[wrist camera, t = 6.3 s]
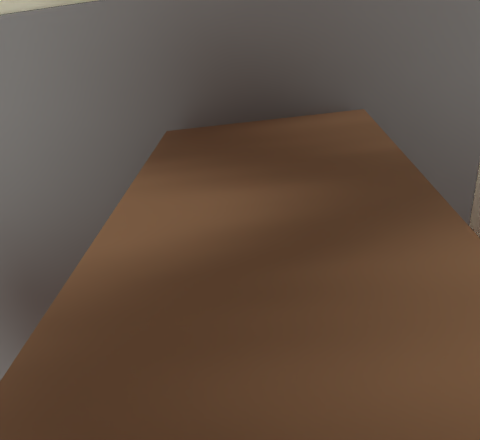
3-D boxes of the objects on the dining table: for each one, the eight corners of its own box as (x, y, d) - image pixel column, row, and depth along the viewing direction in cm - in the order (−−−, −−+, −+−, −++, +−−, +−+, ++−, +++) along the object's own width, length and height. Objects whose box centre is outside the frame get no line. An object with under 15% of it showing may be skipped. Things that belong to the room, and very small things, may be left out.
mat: (503, -58, 8) (515, -60, 8) (432, 412, 15) (437, 423, 14) (-231, 49, 9) (-251, 51, 9) (7, 433, 16) (2, 442, 16)
